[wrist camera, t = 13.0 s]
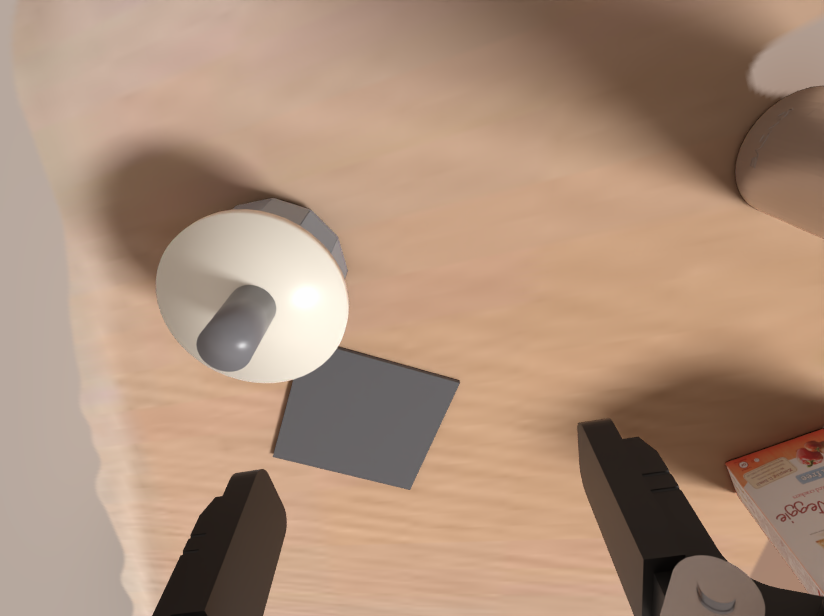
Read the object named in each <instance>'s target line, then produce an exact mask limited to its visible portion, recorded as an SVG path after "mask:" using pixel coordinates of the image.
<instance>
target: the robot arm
mask: <svg viewBox="0 0 824 616" xmlns="http://www.w3.org/2000/svg"><path fill="white" fill-rule="evenodd" d="M735 175H736V183H737V187H738V189H739V192H740V194H741V196H742V197H743V198H744V200H745V201H746V202H747V203H748V204H749V205H751V206H752V207H754V208H755V209H756V210H759V211H761V212H763V213H766V214H768V215H770V216H773V217H775V218H777V219H780V220H782V221H784V222H786V223H789V224H791V225H793V226H795V227H797V228H800V229H802V230H804V231H807V232H809V233H811V234H813V235H816V236H818V237H820V238H823V239H824V86H816V87H810V88H806V89H803V90H800V91H797V92H795V93H793V94H791V95H789V96H787V97H785V98H783V99H781V100H780V101H779V102H777V103H776V104H775V105H773V106H772V107H770V108H769V109H768V110H767V111H766V112H765V113H764V114H763V115H762V116H761V117H760V118H759V119H758V120H757V121H756V123H755V124H754V125H753V127H752V128H751V129H750V131H749V132H748V133H747V135H746V137H745V139H744V141H743V143H742V145H741V147H740V151H739V154H738V157H737V160H736V170H735ZM577 430H578V447H579V465H580V473H581V478H582V482H583V486H584V489H585V492H586V495H587V498H588V500H589V503H590V505H591V508H592V510H593V513H594V515H595V518H596V520H597V523H598V525H599V528H600V530H601V533H602V536H603V538H604V541H605V543H606V546H607V548H608V551H609V553H610V556H611V558H612V561H613V563H614V566H615V568H616V571H617V573H618V576H619V578H620V581H621V584H622V586H623V589H624V591H625V594H626V596H627V599H628V601H629V604H630V606H631V609H632V611H633V614H634V616H824V597H823V596H818V595H812V594H807V593H801V592H796V591H791V590H785V589H780V588H775V587H772V586H768V585H765V584H762V583H760V582H758V581H756V580H753V579H751V578H750V577H749V576H748V575H747V574H745V573H744V572H743V571H742V570H740V569H739V568H738V567H736V566H734V565H733V564H731V563H729V562H728V561H727V560H726V559H725V558H724V557H723V556H722V554H721V553H720V552H719V550H718V549H717V547H716V545H715V544H714V542H713V541H712V539H711V537H710V536H709V534H708V533H707V531H706V529H705V528H704V526H703V525H702V523H701V521H700V520H699V518H698V516H697V515H696V513H695V512H694V510H693V508H692V507H691V505H690V504H689V502H688V500H687V499H686V497H685V496H684V494H683V492H682V491H681V490H680V489H679V486H678V484H677V483H676V481H675V479H674V478H673V476H672V475H671V474H670V473H669V470H668V468H667V467H666V465H665V463H664V462H663V460H662V458H661V457H660V455H659V454H658V452H657V451H656V450H654V449H653V448H652V447H651V446H649V445H648V444H647V443H645V442H644V441H643V440H642V439H640V438H639V437H634V438H627V439H622V438H621V436H620V434H619V432H618V430H617V429H616V427H615V425H614V423H613V422H612V420H611V419H609V418H607V419H600V420H594V421H587V422H580V423H578V426H577ZM286 526H287V520H286V512H285V509H284V506H283V504H282V502H281V500H280V498H279V496H278V493H277V491H276V489H275V487H274V485H273V483H272V481H271V479H270V477H269V474H268V473H267V471H266V470H264V469H260V470H253V471H247V472H240V473H235V474H234V475H232V477H231V478H230V480H229V483H228V485H227V487H226V490H225V492H224V494H223V496H220V497H215V498H214V499H213V501H212V502H211V503H210V504H209V505H208V506H207V508H206V509H205V510H204V511H203V512H202V513H201V515H200V516H199V518H198V520H197V522H196V524H195V527H194V529H193V531H192V533H191V538H190V539H188V541H187V543H186V546H185V548H184V550H183V555H181V556H180V558H179V560H178V562H177V564H176V567H175V569H174V571H173V573H172V575H171V577H170V579H169V581H168V583H167V586H166V588H165V590H164V592H163V594H162V596H161V598H160V600H159V602H158V605H157V607H156V609H155V611H154V613H153V615H152V616H263V614H264V610H265V606H266V603H267V599H268V595H269V592H270V588H271V584H272V581H273V577H274V573H275V570H276V566H277V563H278V559H279V555H280V552H281V548H282V544H283V541H284V537H285V533H286Z"/></svg>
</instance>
